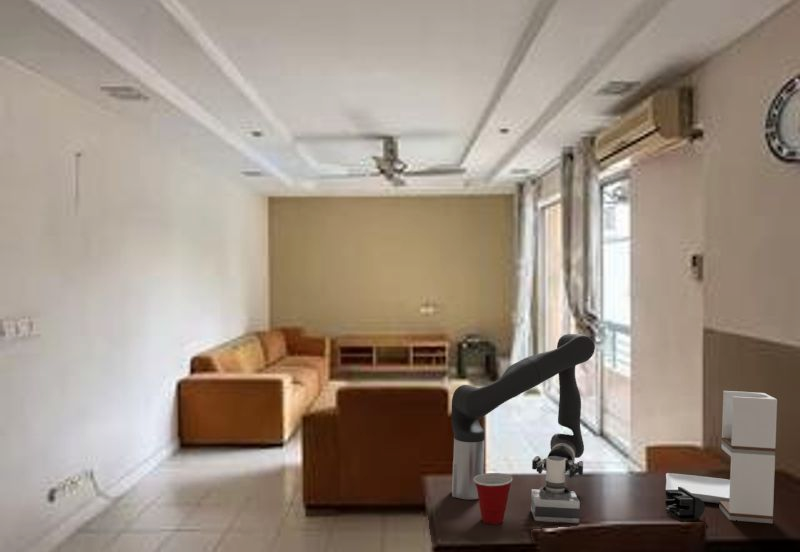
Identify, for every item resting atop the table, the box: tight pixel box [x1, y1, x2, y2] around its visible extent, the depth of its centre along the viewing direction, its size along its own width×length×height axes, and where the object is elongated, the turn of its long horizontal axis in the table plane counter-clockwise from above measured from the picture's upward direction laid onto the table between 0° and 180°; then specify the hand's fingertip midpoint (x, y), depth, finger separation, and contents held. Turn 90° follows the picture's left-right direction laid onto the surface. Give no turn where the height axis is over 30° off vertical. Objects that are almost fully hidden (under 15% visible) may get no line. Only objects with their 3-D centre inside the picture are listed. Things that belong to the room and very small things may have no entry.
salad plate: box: [665, 472, 730, 504], centre depth 228 cm, size 21×21×3 cm
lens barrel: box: [545, 456, 566, 494], centre depth 203 cm, size 5×5×10 cm
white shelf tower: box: [718, 390, 778, 524], centre depth 209 cm, size 11×11×35 cm
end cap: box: [664, 487, 706, 521], centre depth 208 cm, size 10×7×7 cm
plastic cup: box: [473, 472, 514, 525], centre depth 198 cm, size 11×11×12 cm
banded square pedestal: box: [530, 485, 581, 524], centre depth 203 cm, size 12×9×8 cm
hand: (555, 472), depth 201 cm, fingers open, 8 cm apart
